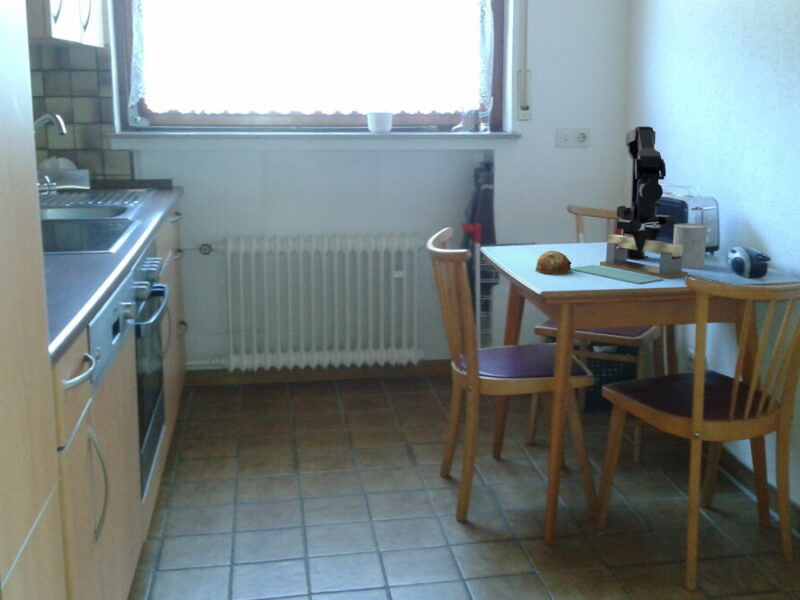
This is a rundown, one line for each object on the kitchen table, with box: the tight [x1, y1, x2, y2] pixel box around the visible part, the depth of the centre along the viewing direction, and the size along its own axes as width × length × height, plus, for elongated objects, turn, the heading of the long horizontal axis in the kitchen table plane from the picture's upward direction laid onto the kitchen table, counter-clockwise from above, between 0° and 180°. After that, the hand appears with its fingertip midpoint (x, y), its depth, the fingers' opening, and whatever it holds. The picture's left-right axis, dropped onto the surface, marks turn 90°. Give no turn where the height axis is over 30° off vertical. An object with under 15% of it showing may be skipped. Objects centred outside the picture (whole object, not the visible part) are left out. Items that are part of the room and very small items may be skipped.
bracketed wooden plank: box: [599, 241, 689, 280], centre depth 260 cm, size 26×8×7 cm, turn 35°
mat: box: [570, 264, 664, 285], centre depth 254 cm, size 10×26×1 cm, turn 35°
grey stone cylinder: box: [672, 222, 708, 270], centre depth 266 cm, size 10×10×12 cm
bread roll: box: [534, 250, 572, 275], centre depth 258 cm, size 10×10×8 cm
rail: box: [607, 234, 683, 257], centre depth 259 cm, size 25×3×3 cm, turn 35°
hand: (643, 251), depth 259 cm, fingers closed on rail, 3 cm apart
